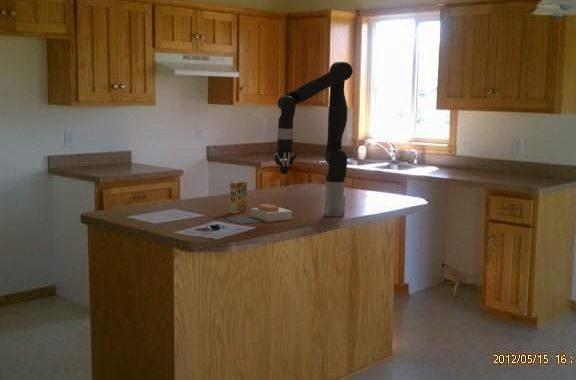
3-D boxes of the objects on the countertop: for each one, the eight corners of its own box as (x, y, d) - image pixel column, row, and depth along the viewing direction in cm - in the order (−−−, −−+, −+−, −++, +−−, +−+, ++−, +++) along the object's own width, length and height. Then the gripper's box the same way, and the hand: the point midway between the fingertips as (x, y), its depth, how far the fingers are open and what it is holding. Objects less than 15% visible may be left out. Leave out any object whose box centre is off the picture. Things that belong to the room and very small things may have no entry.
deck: (275, 214, 338) (275, 206, 337) (291, 219, 327) (291, 211, 326) (251, 216, 330) (251, 208, 329) (267, 221, 319) (267, 213, 318)
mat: (250, 216, 329) (250, 215, 329) (266, 221, 318) (266, 221, 318) (225, 218, 321) (225, 218, 321) (240, 224, 310) (240, 223, 310)
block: (268, 207, 332) (268, 203, 331) (278, 211, 325) (278, 206, 324) (257, 208, 328) (257, 204, 328) (268, 212, 321) (268, 207, 321)
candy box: (236, 214, 335) (236, 183, 332) (229, 212, 337) (230, 182, 335) (247, 211, 342) (247, 181, 340) (240, 210, 344) (241, 180, 342)
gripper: (292, 137, 333) (290, 172, 336) (269, 137, 325) (267, 173, 328) (301, 138, 327) (299, 174, 330) (278, 138, 319) (276, 175, 322)
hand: (283, 173), depth 329 cm, fingers closed
